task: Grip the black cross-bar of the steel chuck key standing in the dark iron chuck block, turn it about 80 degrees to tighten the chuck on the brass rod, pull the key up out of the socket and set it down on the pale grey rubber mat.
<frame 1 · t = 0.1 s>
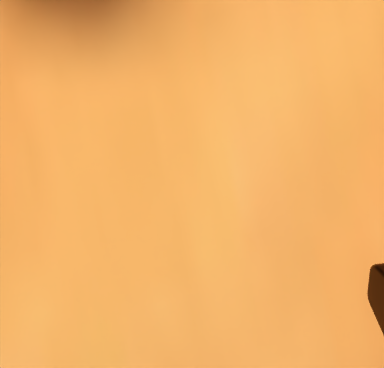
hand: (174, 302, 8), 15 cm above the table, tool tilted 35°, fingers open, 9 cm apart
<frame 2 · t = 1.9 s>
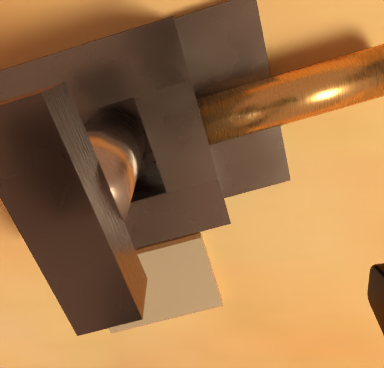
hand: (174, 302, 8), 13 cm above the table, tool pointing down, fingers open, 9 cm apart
chuck block: (114, 140, 20), on the table
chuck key: (113, 143, 20), point 1 cm above the table, touching chuck block
mat: (154, 282, 24), on the table
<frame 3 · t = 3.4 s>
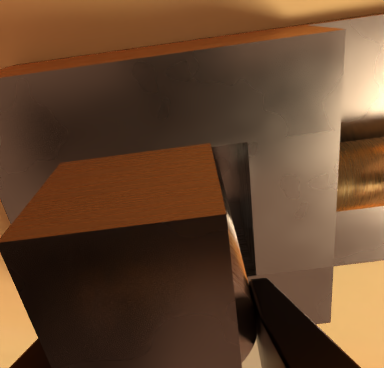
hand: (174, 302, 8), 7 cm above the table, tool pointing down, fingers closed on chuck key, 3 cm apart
chuck block: (176, 177, 14), on the table
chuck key: (176, 183, 14), point 1 cm above the table, touching chuck block, gripper
mat: (185, 351, 19), on the table
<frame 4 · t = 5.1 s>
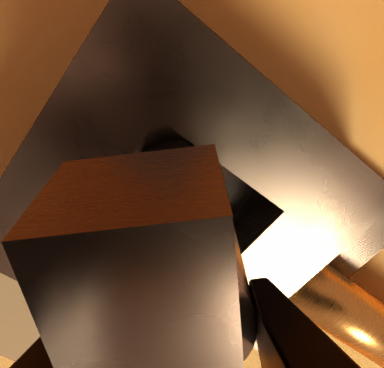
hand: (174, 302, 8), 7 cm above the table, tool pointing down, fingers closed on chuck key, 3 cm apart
chuck block: (177, 176, 14), on the table
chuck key: (176, 183, 14), point 1 cm above the table, touching gripper
mat: (36, 314, 17), on the table
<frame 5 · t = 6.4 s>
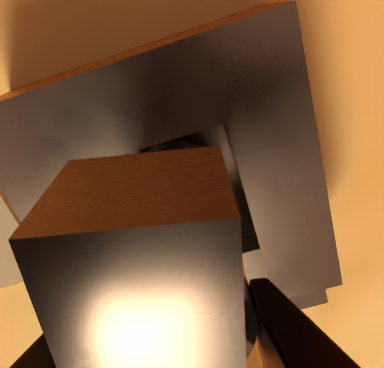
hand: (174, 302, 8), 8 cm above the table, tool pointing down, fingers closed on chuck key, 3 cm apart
chuck block: (175, 168, 15), on the table
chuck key: (176, 183, 14), point 1 cm above the table, touching gripper
when the fingers open (8 cm above the table, at t = 9.2 s): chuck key stays where it is, resting on mat.
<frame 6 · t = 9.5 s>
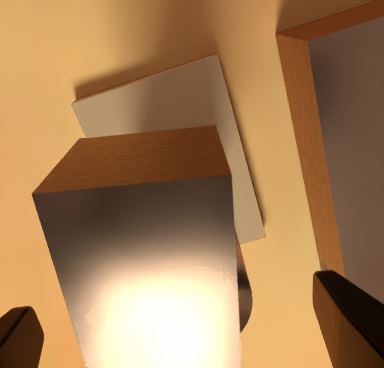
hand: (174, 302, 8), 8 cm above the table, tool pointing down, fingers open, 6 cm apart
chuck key: (177, 177, 14), point 1 cm above the table, touching mat
mat: (178, 171, 15), on the table
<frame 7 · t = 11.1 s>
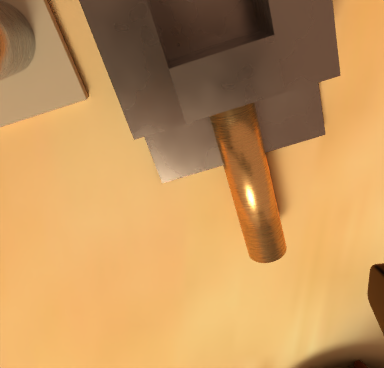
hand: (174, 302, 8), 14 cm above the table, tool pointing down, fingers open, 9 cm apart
mat: (4, 37, 18), on the table
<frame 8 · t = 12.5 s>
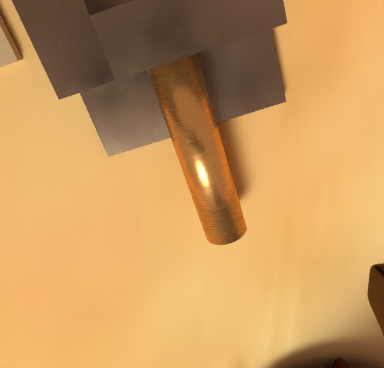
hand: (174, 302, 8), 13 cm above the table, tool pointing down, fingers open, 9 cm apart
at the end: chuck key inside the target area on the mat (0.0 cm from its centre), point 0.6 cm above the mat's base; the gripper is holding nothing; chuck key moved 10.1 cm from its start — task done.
